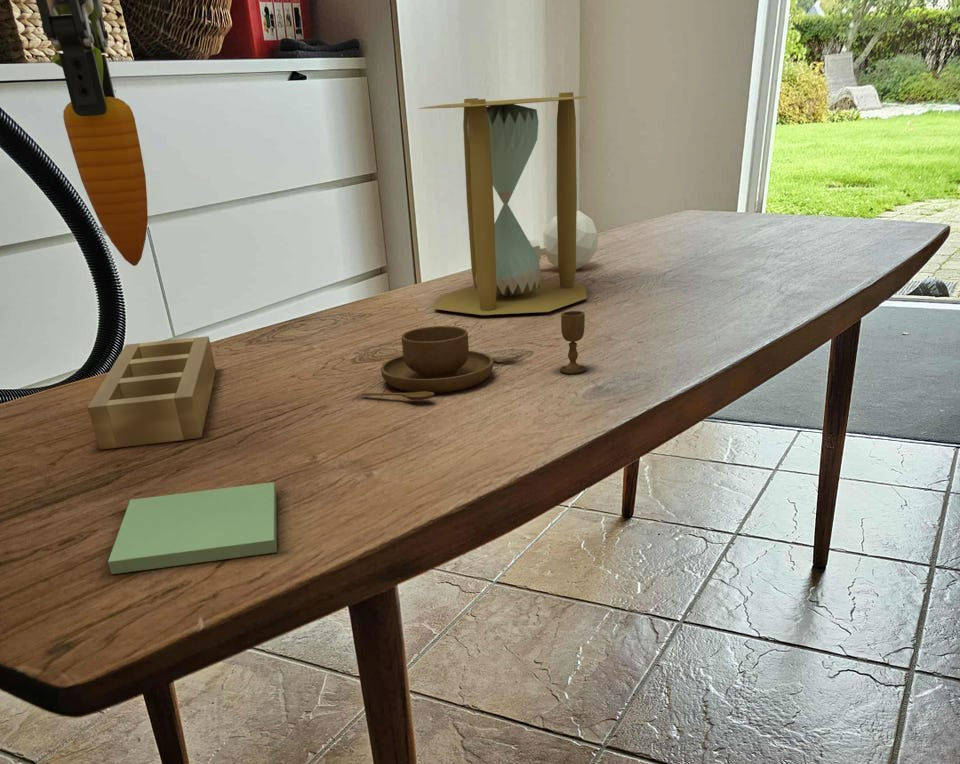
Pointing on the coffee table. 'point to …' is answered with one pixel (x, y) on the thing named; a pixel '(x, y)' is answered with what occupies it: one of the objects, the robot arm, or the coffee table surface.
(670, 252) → the coffee table surface
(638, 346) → the coffee table surface
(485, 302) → the hourglass
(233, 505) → the mat
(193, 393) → the rack
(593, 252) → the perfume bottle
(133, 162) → the carrot
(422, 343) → the place setting
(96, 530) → the coffee table surface
